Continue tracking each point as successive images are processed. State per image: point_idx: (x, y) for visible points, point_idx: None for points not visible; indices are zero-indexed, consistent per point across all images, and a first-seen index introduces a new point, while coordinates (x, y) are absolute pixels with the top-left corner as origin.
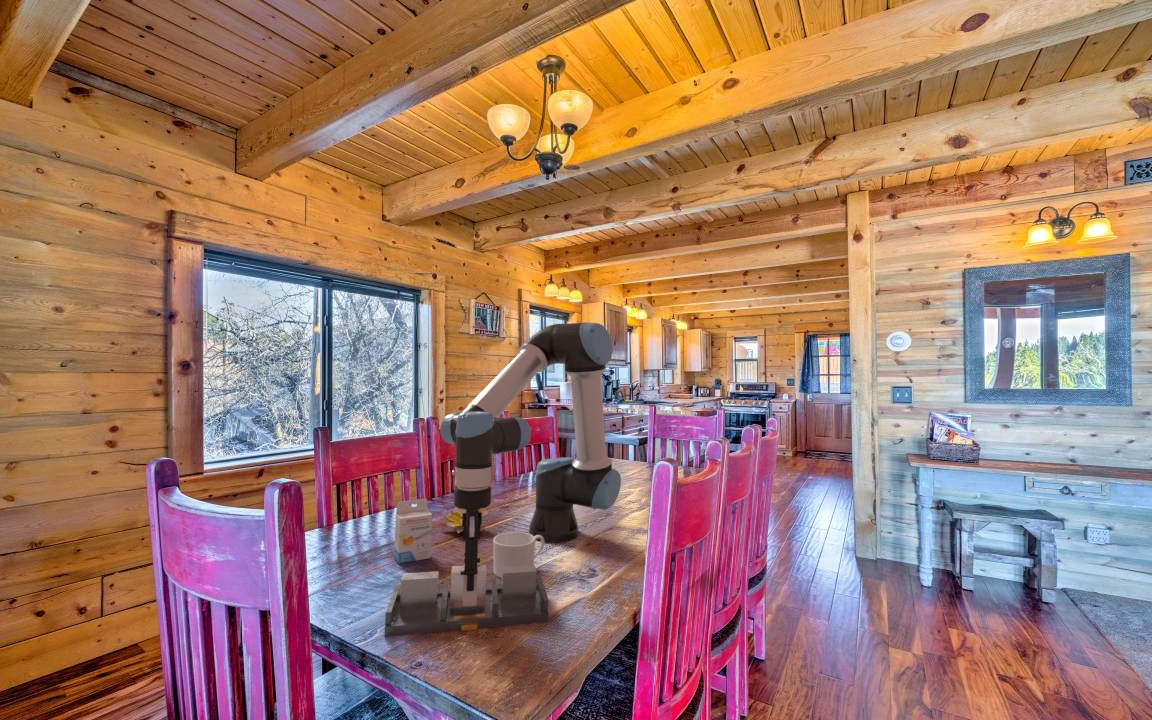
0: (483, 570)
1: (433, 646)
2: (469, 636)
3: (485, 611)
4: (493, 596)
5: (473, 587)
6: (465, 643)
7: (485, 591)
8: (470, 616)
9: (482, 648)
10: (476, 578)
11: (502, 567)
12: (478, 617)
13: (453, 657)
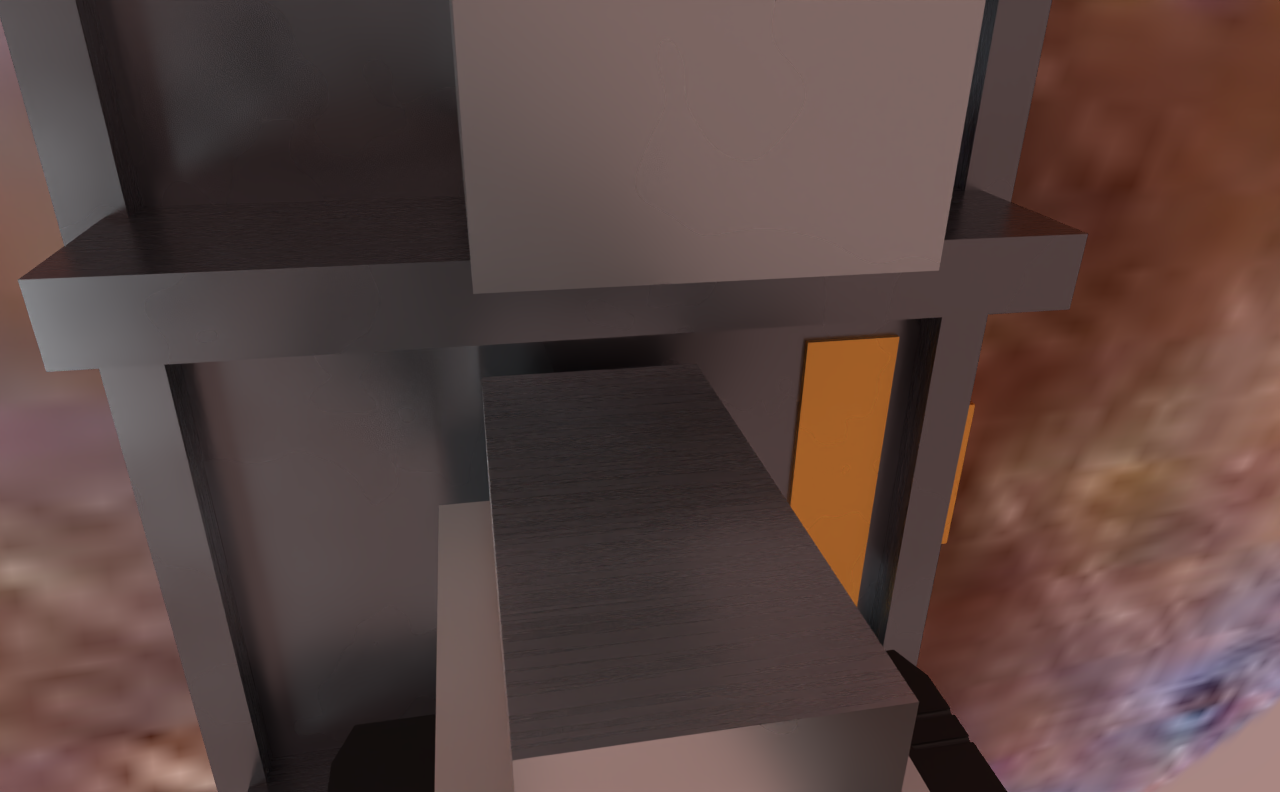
0: (870, 765)
1: (1048, 662)
2: (1019, 436)
3: (739, 336)
4: (844, 311)
5: (934, 695)
6: (1108, 456)
7: (752, 455)
8: (823, 487)
9: (1241, 315)
10: (909, 762)
11: (498, 275)
12: (937, 417)
13: (1241, 516)
